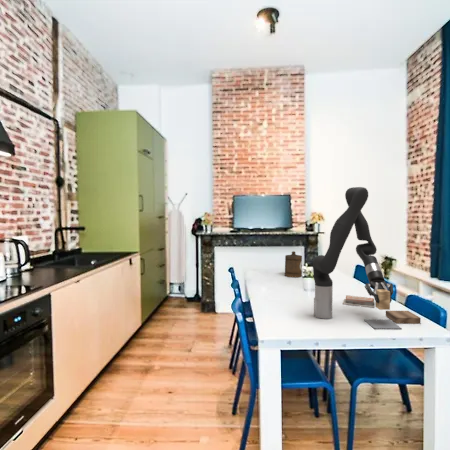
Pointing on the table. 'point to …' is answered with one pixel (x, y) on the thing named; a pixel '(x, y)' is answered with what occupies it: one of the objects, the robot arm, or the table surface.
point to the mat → (382, 324)
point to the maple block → (383, 299)
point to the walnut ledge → (403, 317)
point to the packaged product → (359, 301)
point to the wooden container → (293, 265)
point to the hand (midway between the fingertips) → (384, 302)
